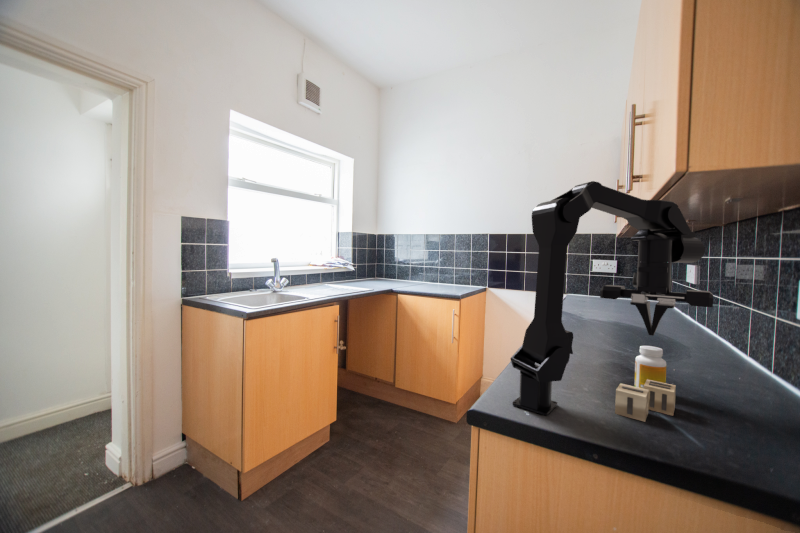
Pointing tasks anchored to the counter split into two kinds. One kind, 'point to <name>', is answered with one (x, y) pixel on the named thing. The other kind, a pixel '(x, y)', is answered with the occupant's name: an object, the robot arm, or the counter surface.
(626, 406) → the oak block one
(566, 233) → the robot arm
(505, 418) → the counter surface
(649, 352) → the supplement bottle
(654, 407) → the birch block two
